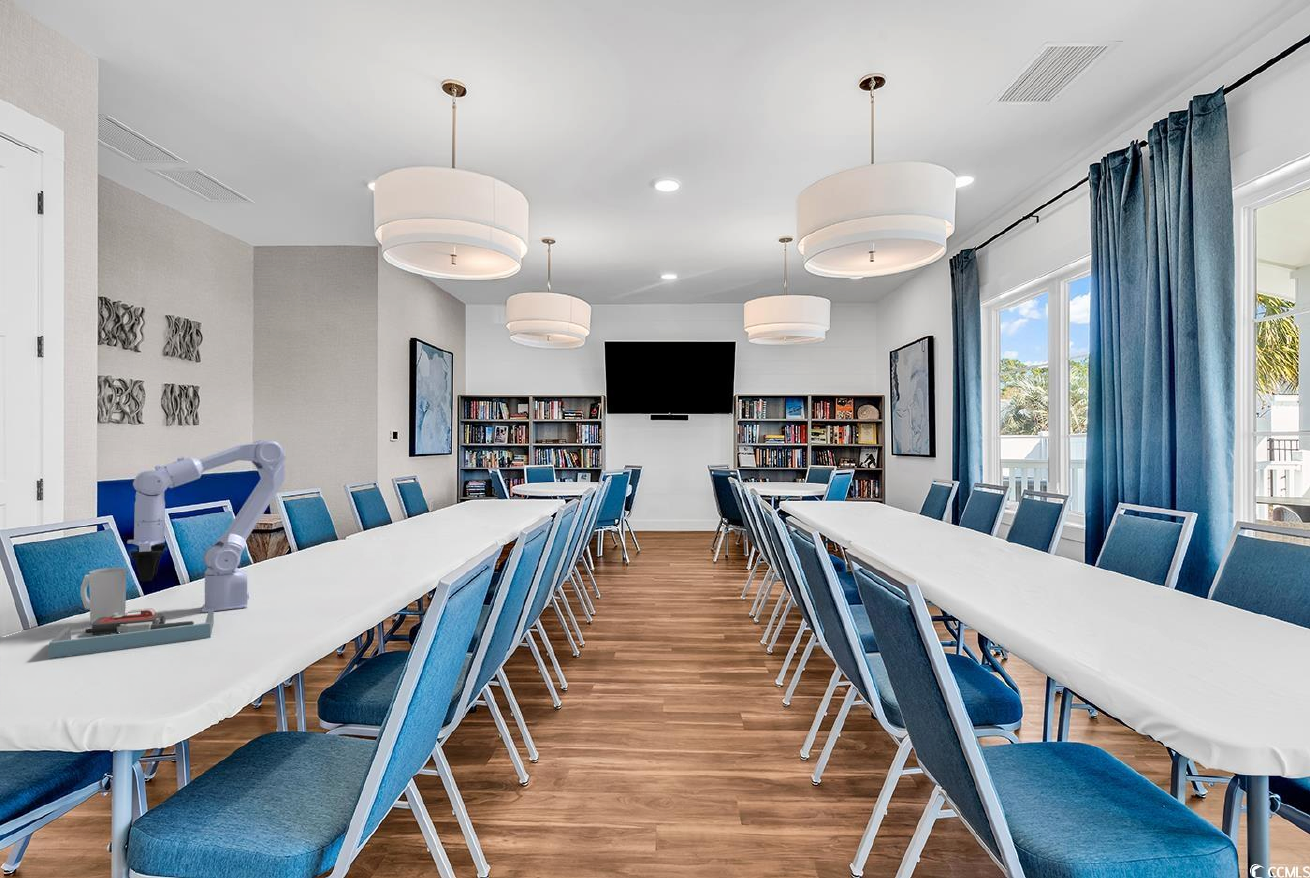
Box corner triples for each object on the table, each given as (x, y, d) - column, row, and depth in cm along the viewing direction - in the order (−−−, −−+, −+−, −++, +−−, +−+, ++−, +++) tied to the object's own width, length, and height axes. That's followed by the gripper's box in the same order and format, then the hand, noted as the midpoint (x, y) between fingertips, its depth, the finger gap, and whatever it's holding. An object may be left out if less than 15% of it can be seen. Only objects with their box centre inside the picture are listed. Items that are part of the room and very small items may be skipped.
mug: (134, 617, 156) (134, 567, 156) (108, 625, 149) (108, 573, 149) (94, 617, 157) (94, 567, 157) (67, 624, 150) (67, 572, 150)
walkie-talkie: (80, 641, 139) (192, 630, 147) (80, 620, 139) (192, 610, 147) (96, 630, 147) (201, 620, 155) (96, 610, 147) (202, 601, 155)
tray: (213, 623, 151) (213, 610, 151) (210, 637, 140) (210, 623, 140) (64, 642, 137) (64, 627, 137) (48, 658, 127) (48, 643, 127)
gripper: (133, 518, 159) (131, 574, 159) (122, 524, 147) (121, 585, 147) (169, 517, 163) (167, 571, 163) (161, 523, 151) (160, 582, 150)
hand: (148, 578), depth 155 cm, fingers open, 7 cm apart
